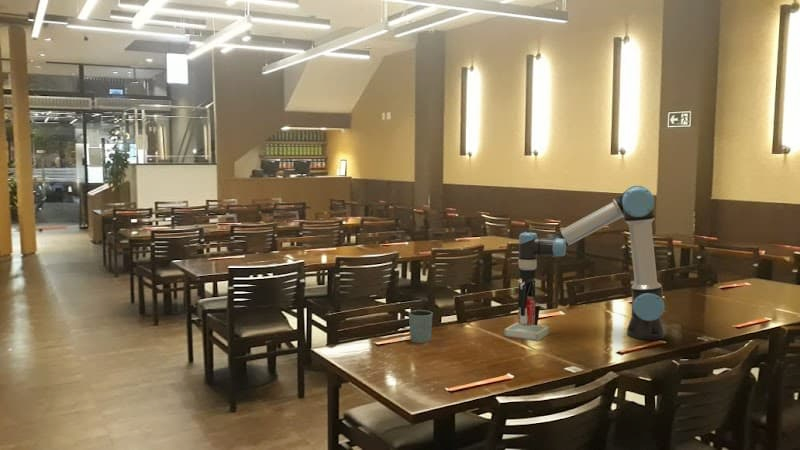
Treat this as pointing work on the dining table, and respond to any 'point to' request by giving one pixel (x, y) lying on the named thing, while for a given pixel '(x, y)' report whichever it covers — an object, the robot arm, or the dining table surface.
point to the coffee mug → (536, 313)
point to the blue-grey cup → (420, 326)
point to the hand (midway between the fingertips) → (526, 321)
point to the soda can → (529, 312)
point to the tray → (526, 332)
